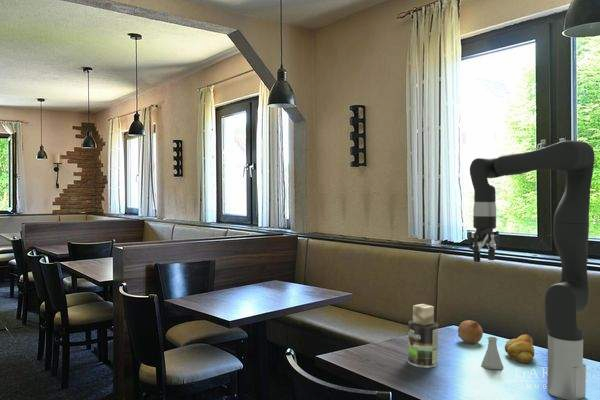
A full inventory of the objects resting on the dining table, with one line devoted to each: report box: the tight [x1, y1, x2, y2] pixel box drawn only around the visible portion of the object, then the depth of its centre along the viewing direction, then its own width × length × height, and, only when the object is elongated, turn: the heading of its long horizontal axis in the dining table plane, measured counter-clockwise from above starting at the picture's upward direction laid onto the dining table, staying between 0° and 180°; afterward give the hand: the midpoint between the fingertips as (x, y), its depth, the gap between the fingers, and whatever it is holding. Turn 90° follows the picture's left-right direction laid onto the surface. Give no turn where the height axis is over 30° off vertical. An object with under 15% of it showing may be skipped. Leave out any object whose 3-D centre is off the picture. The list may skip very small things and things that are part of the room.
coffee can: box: [407, 319, 439, 369], centre depth 172 cm, size 10×10×14 cm
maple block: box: [412, 303, 435, 325], centre depth 172 cm, size 5×5×6 cm
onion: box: [457, 319, 484, 345], centre depth 195 cm, size 10×9×10 cm
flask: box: [481, 336, 504, 370], centre depth 169 cm, size 7×7×10 cm
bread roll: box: [504, 334, 535, 364], centre depth 177 cm, size 13×10×8 cm
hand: (484, 261), depth 172 cm, fingers open, 8 cm apart
